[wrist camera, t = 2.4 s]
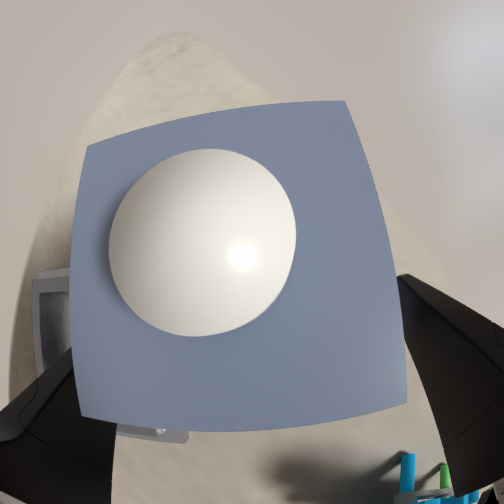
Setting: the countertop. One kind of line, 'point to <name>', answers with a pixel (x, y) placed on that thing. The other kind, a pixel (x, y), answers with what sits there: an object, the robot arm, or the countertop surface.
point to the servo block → (234, 274)
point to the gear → (443, 497)
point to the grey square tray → (59, 340)
